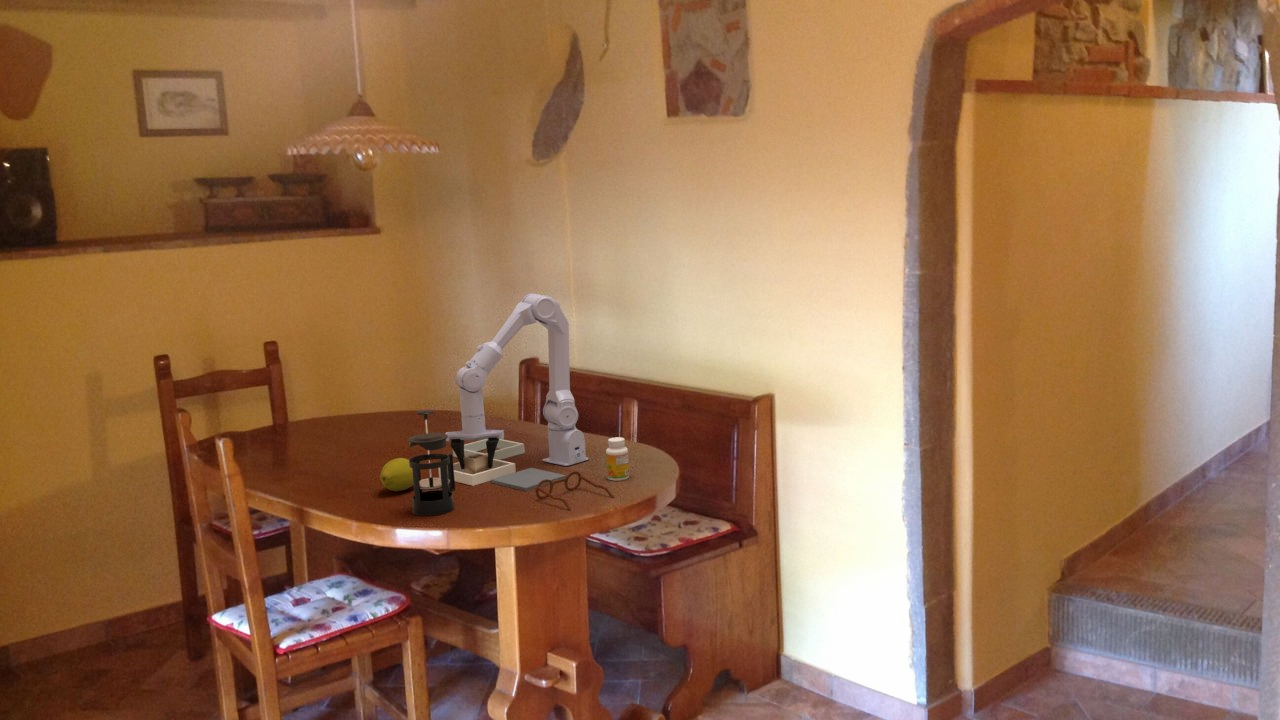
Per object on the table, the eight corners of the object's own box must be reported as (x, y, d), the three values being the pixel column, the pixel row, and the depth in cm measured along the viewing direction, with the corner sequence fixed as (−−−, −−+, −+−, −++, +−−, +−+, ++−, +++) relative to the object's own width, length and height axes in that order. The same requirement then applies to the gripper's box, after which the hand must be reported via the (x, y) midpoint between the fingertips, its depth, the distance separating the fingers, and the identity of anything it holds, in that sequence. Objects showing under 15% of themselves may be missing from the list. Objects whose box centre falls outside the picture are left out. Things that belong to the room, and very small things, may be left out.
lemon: (404, 483, 276) (401, 452, 274) (426, 487, 271) (424, 455, 270) (370, 495, 267) (367, 462, 266) (393, 499, 263) (390, 466, 261)
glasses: (579, 489, 264) (578, 468, 264) (615, 499, 255) (614, 478, 254) (535, 502, 256) (533, 481, 255) (570, 513, 246) (569, 491, 245)
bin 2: (515, 473, 280) (515, 463, 280) (472, 485, 270) (472, 475, 270) (481, 465, 289) (481, 455, 289) (439, 477, 280) (438, 467, 279)
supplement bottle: (604, 477, 272) (602, 438, 271) (625, 474, 274) (622, 435, 273) (611, 482, 267) (609, 442, 266) (632, 479, 269) (630, 440, 268)
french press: (430, 519, 245) (421, 417, 241) (401, 513, 251) (392, 413, 247) (468, 505, 254) (460, 406, 251) (439, 499, 260) (431, 403, 256)
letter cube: (490, 473, 280) (488, 455, 279) (476, 477, 277) (474, 459, 276) (478, 470, 283) (477, 453, 282) (464, 474, 280) (463, 457, 279)
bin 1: (524, 452, 300) (524, 443, 300) (485, 463, 291) (484, 454, 290) (492, 446, 310) (492, 437, 309) (453, 456, 300) (452, 447, 300)
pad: (566, 478, 273) (566, 475, 272) (525, 491, 263) (525, 487, 263) (531, 470, 282) (531, 467, 281) (491, 482, 272) (490, 479, 272)
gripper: (504, 410, 281) (508, 462, 283) (447, 412, 282) (452, 464, 284) (499, 416, 274) (503, 469, 276) (441, 418, 275) (445, 471, 277)
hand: (477, 467), depth 280 cm, fingers closed on letter cube, 6 cm apart
